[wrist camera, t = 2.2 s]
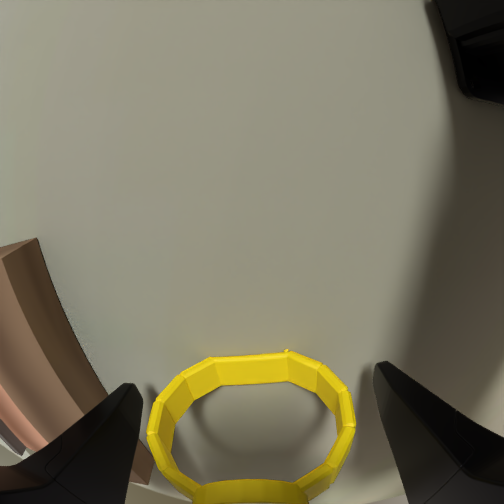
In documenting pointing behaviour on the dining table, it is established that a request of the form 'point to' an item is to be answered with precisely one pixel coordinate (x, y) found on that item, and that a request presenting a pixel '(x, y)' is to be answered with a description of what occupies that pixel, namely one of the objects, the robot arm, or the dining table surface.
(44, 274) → the copper slab
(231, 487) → the watch
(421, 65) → the dining table surface
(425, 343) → the dining table surface
